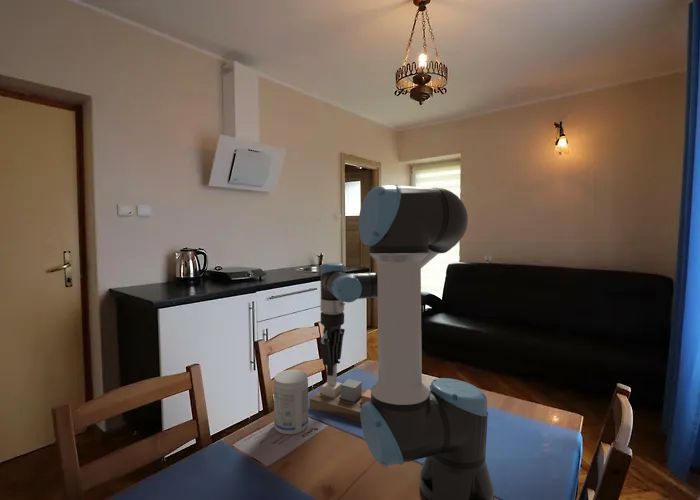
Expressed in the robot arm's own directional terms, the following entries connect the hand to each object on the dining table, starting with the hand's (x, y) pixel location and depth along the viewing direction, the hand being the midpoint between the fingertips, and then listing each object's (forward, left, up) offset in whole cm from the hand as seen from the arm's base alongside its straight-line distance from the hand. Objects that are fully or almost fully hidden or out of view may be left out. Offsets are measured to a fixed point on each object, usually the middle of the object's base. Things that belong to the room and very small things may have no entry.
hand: (331, 383), depth 117 cm
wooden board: (0, -7, -6) cm, 9 cm away
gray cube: (0, -7, -3) cm, 8 cm away
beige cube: (0, 0, -5) cm, 5 cm away
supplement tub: (-18, +3, -6) cm, 19 cm away
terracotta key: (0, -14, -5) cm, 15 cm away
